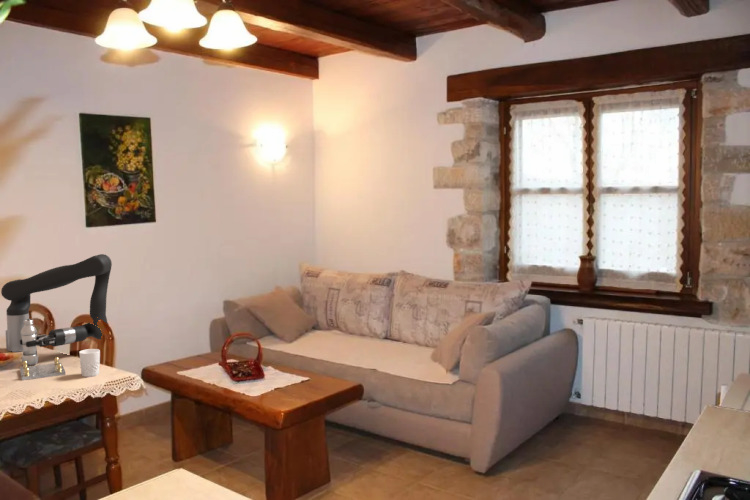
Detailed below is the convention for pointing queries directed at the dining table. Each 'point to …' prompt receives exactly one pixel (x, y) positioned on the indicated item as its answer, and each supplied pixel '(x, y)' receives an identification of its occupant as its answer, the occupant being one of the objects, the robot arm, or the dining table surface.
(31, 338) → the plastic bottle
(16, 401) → the dining table surface
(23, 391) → the dining table surface
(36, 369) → the plate
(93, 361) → the white cup
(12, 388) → the dining table surface
